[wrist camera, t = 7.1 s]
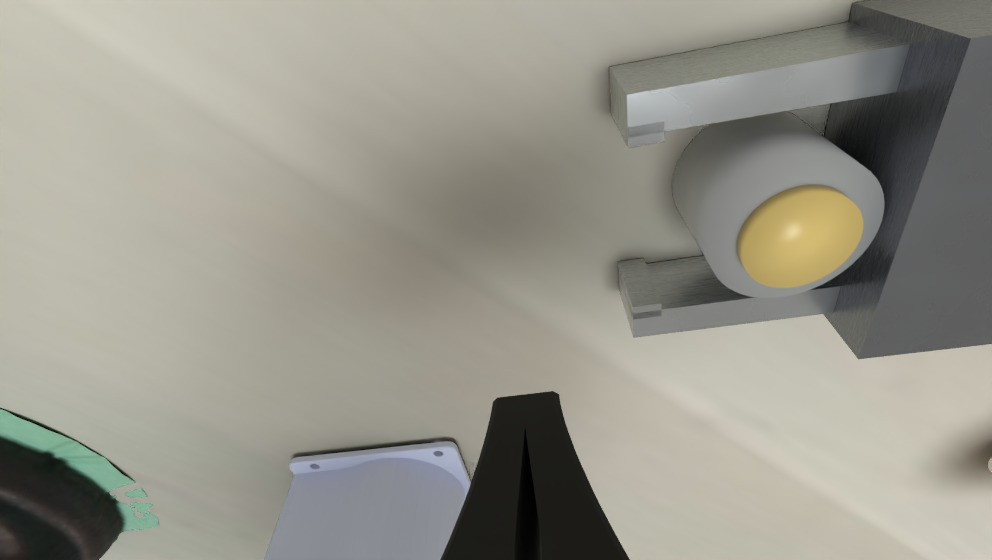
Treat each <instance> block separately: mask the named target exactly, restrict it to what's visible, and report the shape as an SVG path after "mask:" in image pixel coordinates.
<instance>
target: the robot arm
mask: <svg viewBox="0 0 992 560" xmlns="http://www.w3.org/2000/svg"><path fill="white" fill-rule="evenodd" d="M289 468H290V470H291V471H292V472H293V474H294V477H293V480H292V482H291V485H290V488H289V491H288V494H287V496H286V499H285V502H284V505H283V508H282V510H281V513H280V516H279V519H278V522H277V525H276V527H275V530H274V533H273V536H272V539H271V541H270V544H269V547H268V550H267V553H266V555H265V558H264V560H630V559H629V558H628V556H627V554H626V552H625V551H624V549H623V547H622V545H621V544H620V542H619V540H618V538H617V536H616V535H615V533H614V531H613V529H612V527H611V525H610V523H609V521H608V519H607V518H606V516H605V514H604V512H603V510H602V508H601V506H600V504H599V502H598V500H597V498H596V496H595V494H594V492H593V490H592V488H591V485H590V483H589V481H588V479H587V477H586V474H585V472H584V470H583V468H582V466H581V463H580V461H579V459H578V456H577V454H576V451H575V449H574V446H573V444H572V441H571V438H570V435H569V433H568V430H567V427H566V424H565V420H564V417H563V413H562V409H561V405H560V399H559V394H557V393H555V392H553V391H551V392H543V393H534V394H526V395H517V396H509V397H500V398H497V399H496V400H495V401H494V402H493V406H492V412H491V416H490V421H489V425H488V429H487V433H486V437H485V441H484V444H483V447H482V451H481V454H480V458H479V461H478V464H477V467H476V470H475V473H474V476H473V479H472V482H471V481H470V479H469V476H468V473H467V471H466V468H465V466H464V463H463V460H462V458H461V455H460V453H459V450H458V447H457V445H456V444H455V443H453V442H450V441H444V442H434V443H425V444H416V445H406V446H397V447H388V448H378V449H369V450H360V451H350V452H341V453H332V454H322V455H313V456H303V457H296V458H293V459H291V461H290V464H289Z"/></svg>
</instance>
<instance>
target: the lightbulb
mask: <svg viewBox="0 0 992 560" xmlns="http://www.w3.org/2000/svg"><path fill="white" fill-rule="evenodd" d="M988 469H989V470H990V471H991V473H992V457H991V458H990V460H989V462H988Z"/></svg>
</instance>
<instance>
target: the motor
mask: <svg viewBox="0 0 992 560" xmlns="http://www.w3.org/2000/svg"><path fill="white" fill-rule="evenodd" d="M609 82H610V103H611V115H612V117H613V119H614V121H615V123H616V125H617V127H618V129H619V131H620V133H621V135H622V137H623V139H624V141H625V142H626V144H627V146H628V148H631V147H637V146H643V145H649V144H655V143H661V142H664V132H665V131H671V130H677V129H683V128H689V127H695V126H701V125H706V124H712V123H718V122H724V121H730V120H736V119H742V118H748V117H753V116H759V115H765V114H771V113H777V112H783V111H789V110H795V109H800V108H806V107H812V106H818V105H824V104H830V103H831V107H830V112H829V117H828V121H827V126H826V131H825V136H824V137H825V138H826V139H827V140H829V141H830V142H832V143H833V144H834V145H836V146H837V147H838V148H840V149H841V150H842V151H844V152H845V153H846V154H848V155H849V156H850V157H852V158H853V159H855V160H856V161H857V162H859V163H860V164H861V165H863V166H864V167H865V168H867V169H868V170H869V171H871V172H872V174H873V175H874V176H875V177H876V178H877V180H878V182H879V183H880V185H881V188H882V191H883V194H884V202H885V203H884V214H883V218H882V222H881V224H880V227H879V230H878V232H877V234H876V235H875V237H874V239H873V241H872V242H871V244H870V245H869V246H868V248H867V249H866V250H865V251H864V253H863V254H862V255H861V256H860V257H859V258H858V259H857V260H856V261H855V262H854V263H853V264H852V265H851V266H849V267H848V268H847V269H846V270H844V271H843V272H842V273H840V274H839V275H837V276H836V277H834V278H833V279H831V280H829V281H827V282H826V283H824V284H822V285H820V286H817V287H815V288H813V289H810V290H808V291H805V292H802V293H799V294H795V295H791V296H785V297H778V298H757V297H750V296H746V295H742V294H740V293H737V292H735V291H733V290H731V289H729V288H728V287H726V286H725V285H724V284H723V283H722V282H721V281H720V280H719V279H718V278H717V277H716V275H715V273H714V272H713V270H712V268H711V267H710V265H709V263H708V261H707V260H706V258H705V256H698V257H691V258H683V259H676V260H669V261H662V262H655V263H648V264H646V263H645V260H644V258H640V259H633V260H626V261H619V262H618V272H619V291H620V295H621V298H622V301H623V304H624V308H625V311H626V314H627V318H628V321H629V324H630V328H631V331H632V334H633V337H642V336H650V335H658V334H666V333H674V332H682V331H690V330H698V329H706V328H714V327H722V326H730V325H738V324H746V323H754V322H762V321H770V320H778V319H786V318H794V317H802V316H810V315H817V314H824V315H825V317H826V318H827V319H828V321H829V322H830V323H831V324H832V326H833V327H834V328H835V330H836V331H837V332H838V333H839V335H840V336H841V337H842V339H843V340H844V341H845V342H846V344H847V345H848V346H849V348H850V349H851V350H852V352H853V353H854V354H855V355H856V357H857V358H858V359H864V358H872V357H881V356H890V355H899V354H907V353H916V352H925V351H933V350H942V349H951V348H959V347H968V346H977V345H985V344H992V0H866V1H861V2H856V3H853V5H852V9H851V14H850V19H849V22H845V23H840V24H835V25H829V26H824V27H819V28H813V29H808V30H803V31H797V32H792V33H787V34H781V35H776V36H771V37H765V38H760V39H755V40H749V41H744V42H739V43H733V44H728V45H722V46H717V47H712V48H706V49H701V50H696V51H690V52H685V53H680V54H674V55H669V56H664V57H658V58H653V59H648V60H642V61H637V62H632V63H626V64H621V65H616V66H610V67H609Z"/></svg>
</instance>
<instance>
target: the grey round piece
mask: <svg viewBox="0 0 992 560" xmlns="http://www.w3.org/2000/svg"><path fill="white" fill-rule="evenodd" d="M672 193H673V198H674V202H675V204H676V207H677V209H678V211H679V212H680V214H681V216H682V218H683V219H684V221H685V223H686V225H687V226H688V228H689V230H690V232H691V233H692V235H693V237H694V239H695V240H696V242H697V244H698V246H699V247H700V249H701V251H702V253H703V254H704V256H705V258H706V260H707V261H708V263H709V265H710V267H711V268H712V270H713V272H714V273H715V275H716V277H717V278H718V279H719V280H720V281H721V282H722V283H723V284H724V285H725V286H726V287H728V288H729V289H731V290H733V291H735V292H737V293H740V294H742V295H746V296H750V297H757V298H778V297H785V296H791V295H795V294H799V293H802V292H805V291H808V290H810V289H813V288H815V287H817V286H820V285H822V284H824V283H826V282H827V281H829V280H831V279H833V278H834V277H836V276H837V275H839V274H840V273H842V272H843V271H844V270H846V269H847V268H848V267H849V266H851V265H852V264H853V263H854V262H855V261H856V260H857V259H858V258H859V257H860V256H861V255H862V254H863V253H864V251H865V250H866V249H867V248H868V246H869V245H870V244H871V242H872V241H873V239H874V237H875V235H876V234H877V232H878V230H879V227H880V224H881V222H882V218H883V214H884V203H885V202H884V194H883V191H882V188H881V185H880V183H879V182H878V180H877V178H876V177H875V176H874V175H873V174H872V172H871V171H869V170H868V169H867V168H865V167H864V166H863V165H861V164H860V163H859V162H857V161H856V160H855V159H853V158H852V157H850V156H849V155H848V154H846V153H845V152H844V151H842V150H841V149H840V148H838V147H837V146H836V145H834V144H833V143H832V142H830V141H829V140H827V139H826V138H825V137H823V136H822V135H821V134H819V133H818V132H817V131H815V130H814V129H813V128H811V127H810V126H809V125H807V124H806V123H805V122H803V121H802V120H800V119H799V118H798V117H796V116H795V115H794V114H792V113H790V112H788V111H783V112H777V113H771V114H765V115H759V116H753V117H748V118H742V119H736V120H730V121H724V122H718V123H712V124H710V125H708V126H707V127H706V128H704V129H703V130H702V131H701V132H700V133H699V134H698V135H697V136H696V137H695V138H694V139H693V140H692V141H691V142H690V143H689V144H688V146H687V147H686V149H685V150H684V152H683V153H682V155H681V157H680V159H679V161H678V163H677V165H676V168H675V171H674V175H673V182H672Z"/></svg>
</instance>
